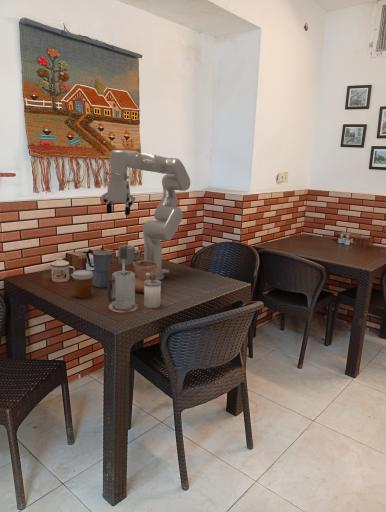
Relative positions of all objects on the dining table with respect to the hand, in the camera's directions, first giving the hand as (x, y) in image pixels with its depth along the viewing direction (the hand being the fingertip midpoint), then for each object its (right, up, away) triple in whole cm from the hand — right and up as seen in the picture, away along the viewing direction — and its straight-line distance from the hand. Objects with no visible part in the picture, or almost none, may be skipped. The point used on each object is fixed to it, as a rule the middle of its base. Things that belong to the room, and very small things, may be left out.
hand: (118, 214), depth 188 cm
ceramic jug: (+12, -37, +9) cm, 40 cm away
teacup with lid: (-32, -33, +19) cm, 50 cm away
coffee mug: (-4, -24, +57) cm, 62 cm away
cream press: (+17, -43, -11) cm, 47 cm away
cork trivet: (+5, -43, -15) cm, 46 cm away
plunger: (+6, -33, -17) cm, 37 cm away
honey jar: (-16, -39, -4) cm, 42 cm away
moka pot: (-12, -35, +14) cm, 39 cm away
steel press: (+4, -42, -15) cm, 45 cm away
